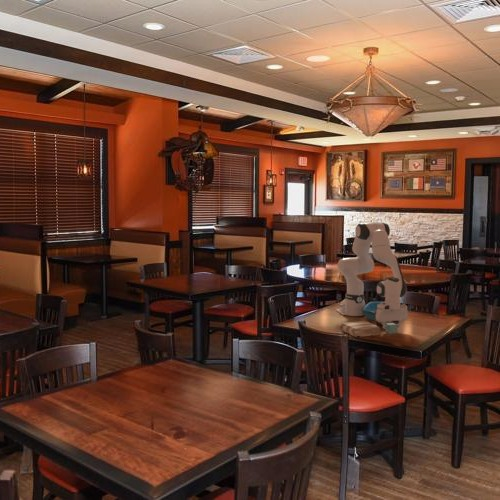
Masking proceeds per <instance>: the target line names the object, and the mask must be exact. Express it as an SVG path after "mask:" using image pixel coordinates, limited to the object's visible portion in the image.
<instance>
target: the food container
mask: <svg viewBox="0 0 500 500" xmlns="http://www.w3.org/2000/svg"><path fill="white" fill-rule="evenodd" d="M376 311H377V310H376ZM376 311H375V312H374V314H375V319H376ZM386 323H393V321H385V325H386ZM375 325H376V326H378V327H380V329H381V328H382V329H384V328H383V325H382V323H381V322H379V321H377V320H376V321H375Z"/></svg>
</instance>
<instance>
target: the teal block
mask: <svg viewBox="0 0 500 500" xmlns="http://www.w3.org/2000/svg"><path fill="white" fill-rule="evenodd" d="M397 324H398V323H394V322H392V323H386V326H387V329H385V330H384V331H385V333H388V334H398V330H399V328H398V325H397Z"/></svg>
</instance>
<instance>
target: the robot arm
mask: <svg viewBox="0 0 500 500" xmlns="http://www.w3.org/2000/svg"><path fill="white" fill-rule="evenodd" d="M354 230H355V237H354V240H353V243H352V247H351V249H352V253H354V254H355V256H356V257H343V258H340V259H339V260H338V262H337V269H338V271H339V272H340V273H341V274H342V275H343V276H344V278H345V281H346V293H345V297H344V299H343V300H342V301H341V302H339V303H340V304H339V308H336V312H338V313H339V314H340V315H341V316H349V317H351V316H352V317H363V316H365V313H364V310H363V308H364V307H365V306H366V302H365V294H364V289H365V288H364V286H365V285H364V282H363V280H361V279H360V278H358V276H357V275H358V274H367V273H368V274H369V273H372V271H374V269H375V262H374V260H373V259H372V257H371V256H370V249H371V251H372V256H373V258H374V259H375V260H376V261H377V262H380V263H382V264H385V265H387V266H388V267H390V269H391V272H392V275H393V276H390V277H387V278H386V280H382V281H379V282H378V283H377V285H376V289H375V290H376V294H377V295H378V296H379V297H381V298H384V301H381V302H382V303H380V304H378V305H377V307H378V309H377V311H376V320H377V321H379V322H381V323H382V325H383V328H382V329H387V326H386V325H385V321H392V322H394V321H395V322H396V321H398V323H396V324H397V325H398V329H399V328H401V325H402V323H403V321H407V320H408V318H409V316H408V315H409V314H408V313H409V312H408V306H407V305H406V304H401V298H403V297H404V296H405V295H406V294H407V292H408V288H407V284H406V281H405V279H404V275H403V272H402V269H401V265H400V262H399V260H398V257H397V256H396V255H394V252H393V251H392V249H391V243H390V239H389V238H390V237H389V236H390V232H391V229H390V226H389V225H388V223H385V222H376V221H374V222H360V223H358V224H357V225H356V227H355V229H354Z"/></svg>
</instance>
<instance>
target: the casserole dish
mask: <svg viewBox="0 0 500 500" xmlns="http://www.w3.org/2000/svg"><path fill="white" fill-rule="evenodd" d="M382 302H383V301H369V302H368V303H367V304H365V307H364V308H363V310H364V313H365V315H364V316H365V318H366V320H369V321H375V322H376V319H375V314H374V312H375V311H376V310H377V309H378V307H377V305H378V304H380V303H382Z"/></svg>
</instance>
